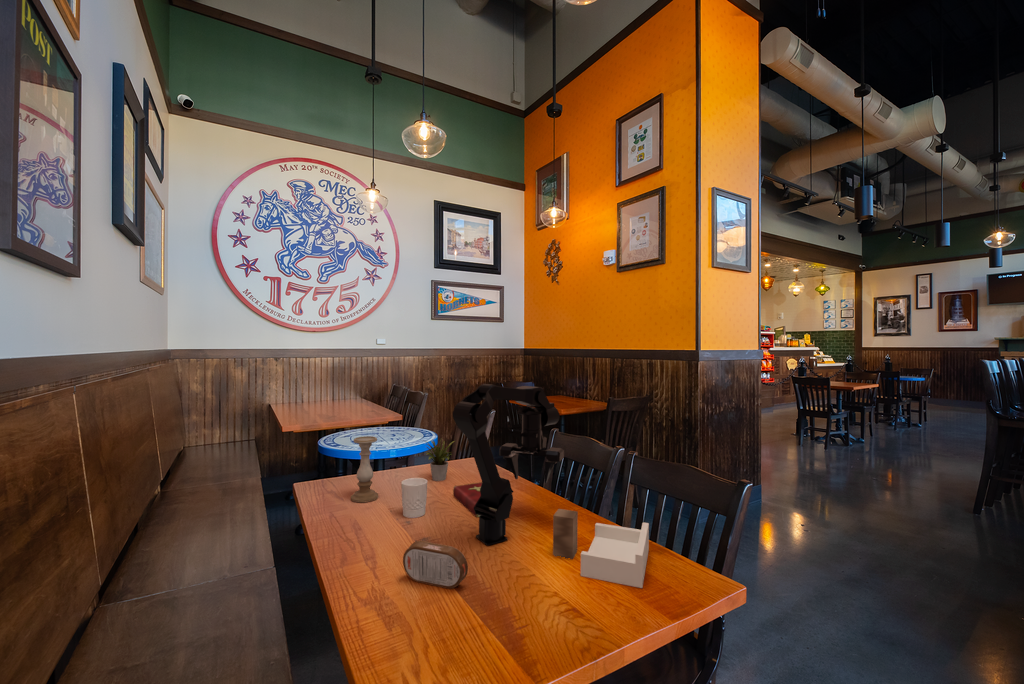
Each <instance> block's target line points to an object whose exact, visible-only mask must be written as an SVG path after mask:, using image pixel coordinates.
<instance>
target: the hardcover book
mask: <svg viewBox="0 0 1024 684" xmlns="http://www.w3.org/2000/svg"><path fill="white" fill-rule="evenodd" d="M481 485H482V481H481V482H480V481H479V482H472V483H466V484H459V485H455V486H453V490H452V491H453V492H452V493H453V494H452V495H453V498H455V499H456V500H457V501H458V502H459V503H461V504H462V505H463V506H464V507H465V508H466V509H467V510H468V511H469V512H470V513H471V514H473V516H475V517H476V518H479V516H480V515H478V514H475V512H474V506H475V504H476V503H477V501H478V499H479V498H480V496H481V494H480V488H481ZM489 508H490V509H493V510H496V509H494V508H491V507H489ZM496 511H497V510H496Z"/></svg>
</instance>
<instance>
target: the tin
mask: <svg viewBox="0 0 1024 684" xmlns="http://www.w3.org/2000/svg"><path fill="white" fill-rule="evenodd" d="M402 558H403V559H402V564H403V569H404V571H405V573H406V575H407V577H409V578H410V579H411V580H413V581H414V582H417V583H421V584H426V585H430V586H434V587H438V588H439V587H440V588H445V589H454V588H456V587H458V586H459V585H460V584H461V583H462V582H463V581H464V580H465V578H466V577H467V574H468V570H469V565H468V561H467V559H466V556H465V555H464V553H463V552H462V551H461V550H459V548H456V547H455V546H451V545H448V544H447V545H446V544H441V543H436V542H435V543H434V542H431V541H427V540H426V541H425V540H416V541H415V542H413V543H411V545H410V546H409V547H408V548H407V549H406V550H405V552H404V553H403V555H402Z"/></svg>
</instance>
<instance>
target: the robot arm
mask: <svg viewBox="0 0 1024 684" xmlns="http://www.w3.org/2000/svg"><path fill="white" fill-rule="evenodd" d="M496 400H499V401H500V400H501V401H510V402H511V401H512V402H516V403H517V404H520V405H522V406H521V407H520V409H518V411H516V412H517V413H516V414H517V415H521V417H522V418H521V420H522V421H521V432H520V437H521V446H519V445H518V444H517V443H513V442H512V443H511V442H510V443H509V442H506V443H505V444H503V445H500V447H499V453H498V455H499V456H501V457H502V459H504V460H506V462H507V463H508V466H509V467H510V470H511V472H512V475H513V476H514V479H515V480H518V478H519V462H518V459H519V455H525V456H526V455H528V456H535V457H545V459H546V460H545V461H544V478H543V479H544V484H548V481H549V478H550V476H551V475H550V474H551V472H552V469H553V467H554V465H556V464H557V463H559V462H561V461H562V460H563V459H565V450H564V449H563V448H561V447H552V446H551V447H550V448H548V449H546V448H547V441H548V438H547V437H546V436H544V435H543V430H542V427H546V426H551V425H556V424H557V423H558V422H559V421H560V418H561V416H560V412H559V410H558V409H557V408H556V407H555V402H550V401H549V399H548V397H547V395H546V393H545V390H544V388H543V387H542V386H531V385H521V386H518V387H510V386H509V387H508V386H500V385H495V384H489V383H482V384H480V385H479V386H478V387H477V388H476V389H475V390H474V391H472V392H471V393H469V394H467V395H466V396H464V397H463V398H462V399H461V400H460V401H459V402H458V403H456V404H455V406H454V409H453V411H452V418H453V420H454V422H455V424H456V426H457V428H458V429H459V430H460V432H461V433H462V434H464V436H465V437H466V438H467V441H468V445H469V447H470V451H471V453H472V456H473V458H474V462H475V464H476V468H477V470H478V473H479V476H480V479H481V482H482V485H481V488H480V494H481V496H480V498H479V499H478V501H477V503H476V504H475V506H474V512H475V514H478V515H480V516H479V517H478V534H476V535H475V538H476V539H478V540H479V541H480V542H481V543H482V544H484V545H486V546H487V547H488V546H492V545H495V544H500V543H502V542H506V541H508V537H507V533H506V531H507V529H506V527H507V525H506V524H507V520H506V519H509V518H510V515H511V510H512V506H513V502H514V501H513V500H514V496H513V493H514V490H513V489H512V486H511V485H512V484H511V481H510V480H509V479H507V478H505V477H501V476H500V473H499V470H498V467H497V463H496V462H495V457H494V455H493V452H492V449H491V445H490V443H489V440H488V436H487V433H486V429H487V427H488V422H489V421H488V416H489V415H490V413H492V411H493V407H494V403H495V401H496ZM489 507H491V508H494V509H496V510H497V511H496V510H493V509H490V508H489Z"/></svg>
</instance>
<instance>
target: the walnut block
mask: <svg viewBox="0 0 1024 684" xmlns="http://www.w3.org/2000/svg"><path fill="white" fill-rule="evenodd" d="M578 515H579V514H578V510H577V511H576V510H570V509H564V508H558V509H557V510H556V511H555V513H554V514H553V522H552V523H553V524H552V526H553V527H552V528H553V530H552V531H553V533H552V536H553V537H552V556H553V555H554V556H553V557H557V556H561V557H560V558H562V557H565V558H564V559H568V558H570V559H569V560H574V558H575V556H576V554H577V552H578V518H579V516H578Z"/></svg>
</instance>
